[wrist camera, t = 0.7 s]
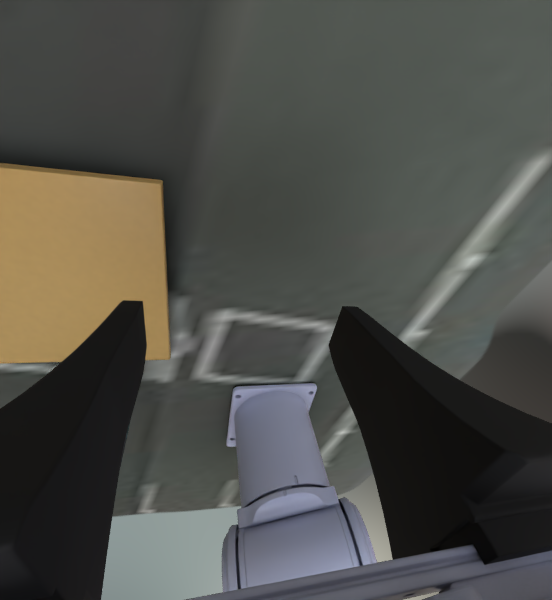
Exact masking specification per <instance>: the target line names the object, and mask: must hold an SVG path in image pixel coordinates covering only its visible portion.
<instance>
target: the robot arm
mask: <svg viewBox="0 0 552 600" xmlns="http://www.w3.org/2000/svg"><path fill="white" fill-rule="evenodd" d="M146 349H147V341H146V330H145V319H144V308H143V301H130V300H123V301H122V302H120V303H119V304H118V305H117V307H116V308H115V309H114V310H113V311H112V312H111V313H110V315H109V316H108V317H107V318H106V319H105V320H104V321H103V322H102V323H101V324H100V325H99V327H98V328H97V329H96V330H95V331H94V332H93V333H92V334H91V335H90V336H89V337H88V338H87V339H86V340H85V341H84V342H83V343H82V344H81V345H80V346H79V347H78V348H77V349H75V350H74V351H73V352H72V353H71V354H70V355H69V356H68V357H67V358H66V359H64V360H63V361H62V362H61V363H60V364H59V365H58V366H57V367H55V368H54V369H53V370H52V371H51V372H49V373H48V374H47V375H46V376H45V377H43V378H42V379H41V380H39V381H38V382H37V383H36V384H34V385H33V386H32V387H30V388H29V389H28V390H27V391H25V392H24V393H22V394H21V395H20V396H18V397H17V398H15V399H14V400H12V401H11V402H10V403H8V404H7V405H5V406H4V407H2V408H1V409H0V600H101V594H102V587H103V579H104V572H105V564H106V556H107V549H108V542H109V535H110V528H111V521H112V514H113V508H114V501H115V495H116V489H117V482H118V476H119V470H120V464H121V458H122V452H123V447H124V443H125V438H126V434H127V430H128V427H129V423H130V419H131V416H132V412H133V408H134V405H135V401H136V397H137V394H138V390H139V386H140V383H141V379H142V375H143V370H144V364H145V357H146ZM329 349H330V353H331V357H332V360H333V364H334V367H335V370H336V372H337V375H338V377H339V380H340V382H341V384H342V387H343V389H344V391H345V394H346V396H347V398H348V401H349V403H350V405H351V408H352V410H353V412H354V415H355V417H356V419H357V422H358V425H359V427H360V430H361V433H362V436H363V440H364V443H365V446H366V449H367V452H368V456H369V459H370V463H371V466H372V470H373V474H374V477H375V481H376V485H377V489H378V493H379V497H380V501H381V505H382V509H383V513H384V518H385V523H386V528H387V532H388V537H389V542H390V547H391V552H392V558H393V560H389V561H384V562H378V563H377V561H376V557H375V554H374V550H373V547H372V544H371V541H370V538H369V535H368V532H367V529H366V526H365V524H364V522H363V519H362V517H361V515H360V513H359V511H358V509H357V507H356V506H355V505H354V504H353V503H351V502H350V501H349V500H348V499H347V498H345V497H343V498H341V499H338V497H337V494H336V491H335V487H334V486H330V484H329V481H328V477H327V474H326V471H325V467H324V464H323V461H322V457H321V454H320V450H319V447H318V444H317V440H316V437H315V434H314V430H313V427H312V423H311V420H310V417H309V413H308V412H309V409H310V407H311V404H312V401H313V398H314V395H315V393H316V390H317V387H316V384H314V383H305V384H282V385H259V386H238V387H235V388H234V389H233V392H232V400H231V408H230V416H229V425H228V433H227V441H226V444H227V446H229V447H234V446H236V448H237V461H238V473H239V485H240V497H241V506H242V508H241V509H238V510H237V514H238V525H232V526H231V527H230V529H229V532H228V533H227V535H226V537H225V539H224V542H223V548H222V584H223V592H222V593H218V594H212V595H207V596H202V597H196V598H191V599H186V600H403V599H407V598H411V597H416V596H420V595H425V594H429V593H433V592H438V591H439V594H437V595H434V596H431V597H428V598H425V599H422V600H552V423H549V422H547V421H544V420H542V419H539V418H537V417H534V416H532V415H529V414H527V413H524V412H522V411H520V410H518V409H516V408H513V407H511V406H509V405H507V404H505V403H502V402H500V401H498V400H496V399H494V398H492V397H490V396H488V395H486V394H484V393H482V392H480V391H479V390H477V389H475V388H473V387H471V386H469V385H467V384H465V383H464V382H462V381H460V380H458V379H457V378H455V377H453V376H452V375H450V374H448V373H447V372H445V371H444V370H442V369H440V368H439V367H437V366H436V365H434V364H433V363H431V362H430V361H428V360H427V359H425V358H424V357H422V356H421V355H420V354H418V353H417V352H415V351H414V350H412V349H411V348H410V347H408V346H407V345H406V344H404V343H403V342H402V341H401V340H399V339H398V338H397V337H395V336H394V335H393V334H392V333H390V332H389V331H388V330H387V329H385V328H384V327H383V326H382V325H380V324H379V323H378V322H377V321H375V320H374V319H373V318H371V317H370V316H369V315H368V314H366V313H365V312H364V311H362V310H361V309H359V308H358V307H348V306H342V309H341V312H340V315H339V317H338V320H337V323H336V326H335V329H334V331H333V334H332V337H331V340H330V343H329Z"/></svg>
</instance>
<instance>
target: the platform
mask: <svg viewBox="0 0 552 600" xmlns="http://www.w3.org/2000/svg"><path fill="white" fill-rule="evenodd" d="M123 300H130V301H143V308H144V319H145V330H146V341H147V349H146V357H145V360H169V359H170V355H171V347H170V326H169V305H168V284H167V262H166V241H165V220H164V198H163V181H162V180H156V179H147V178H137V177H128V176H119V175H109V174H100V173H90V172H81V171H72V170H62V169H53V168H43V167H34V166H25V165H15V164H6V163H0V363H37V362H62V361H63V360H64V359H66V358H67V357H68V356H69V355H70V354H71V353H72V352H73V351H74V350H75V349H77V348H78V347H79V346H80V345H81V344H82V343H83V342H84V341H85V340H86V339H87V338H88V337H89V336H90V335H91V334H92V333H93V332H94V331H95V330H96V329H97V328H98V327H99V325H100V324H101V323H102V322H103V321H104V320H105V319H106V318H107V317H108V316H109V315H110V313H111V312H112V311H113V310H114V309H115V308H116V307H117V305H118V304H119V303H120V302H122V301H123Z"/></svg>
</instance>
